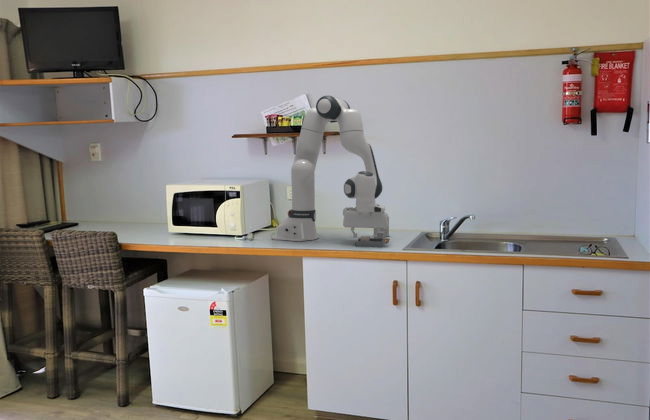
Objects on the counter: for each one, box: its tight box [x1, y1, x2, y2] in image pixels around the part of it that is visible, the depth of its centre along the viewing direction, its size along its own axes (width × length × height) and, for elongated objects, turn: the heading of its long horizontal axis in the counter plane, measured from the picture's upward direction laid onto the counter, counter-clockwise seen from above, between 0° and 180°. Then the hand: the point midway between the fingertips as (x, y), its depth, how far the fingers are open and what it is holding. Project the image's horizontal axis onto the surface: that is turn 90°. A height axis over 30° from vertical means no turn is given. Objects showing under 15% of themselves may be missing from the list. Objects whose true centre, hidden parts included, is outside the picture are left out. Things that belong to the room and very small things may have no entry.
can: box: [373, 212, 390, 238], centre depth 308 cm, size 8×8×12 cm
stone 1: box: [359, 235, 371, 241], centre depth 284 cm, size 4×4×4 cm
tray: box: [384, 237, 390, 245], centre depth 295 cm, size 14×11×1 cm
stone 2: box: [375, 231, 385, 239], centre depth 296 cm, size 4×4×4 cm
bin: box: [355, 237, 386, 249], centre depth 283 cm, size 12×9×3 cm
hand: (365, 237), depth 283 cm, fingers open, 8 cm apart
